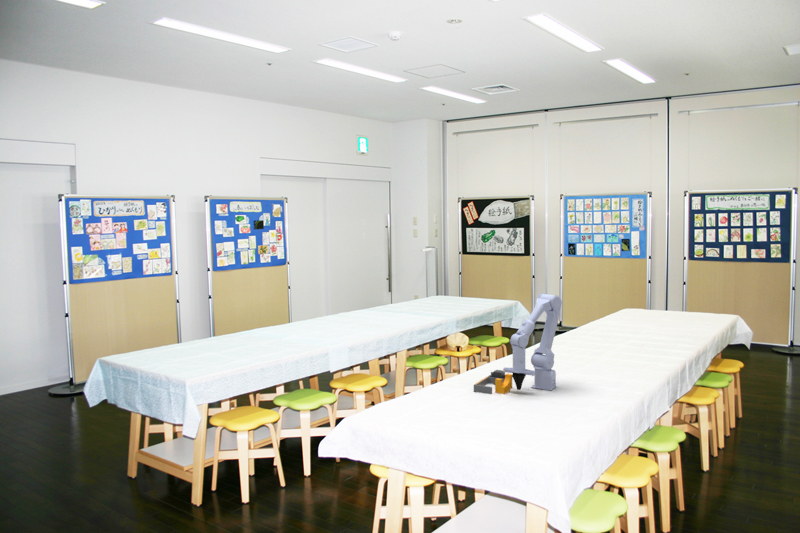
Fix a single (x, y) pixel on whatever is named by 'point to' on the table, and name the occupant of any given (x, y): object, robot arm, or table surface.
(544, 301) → the robot arm
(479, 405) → the table surface
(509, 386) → the pipe clamp
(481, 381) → the grey piece
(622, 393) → the table surface
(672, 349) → the table surface
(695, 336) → the table surface
